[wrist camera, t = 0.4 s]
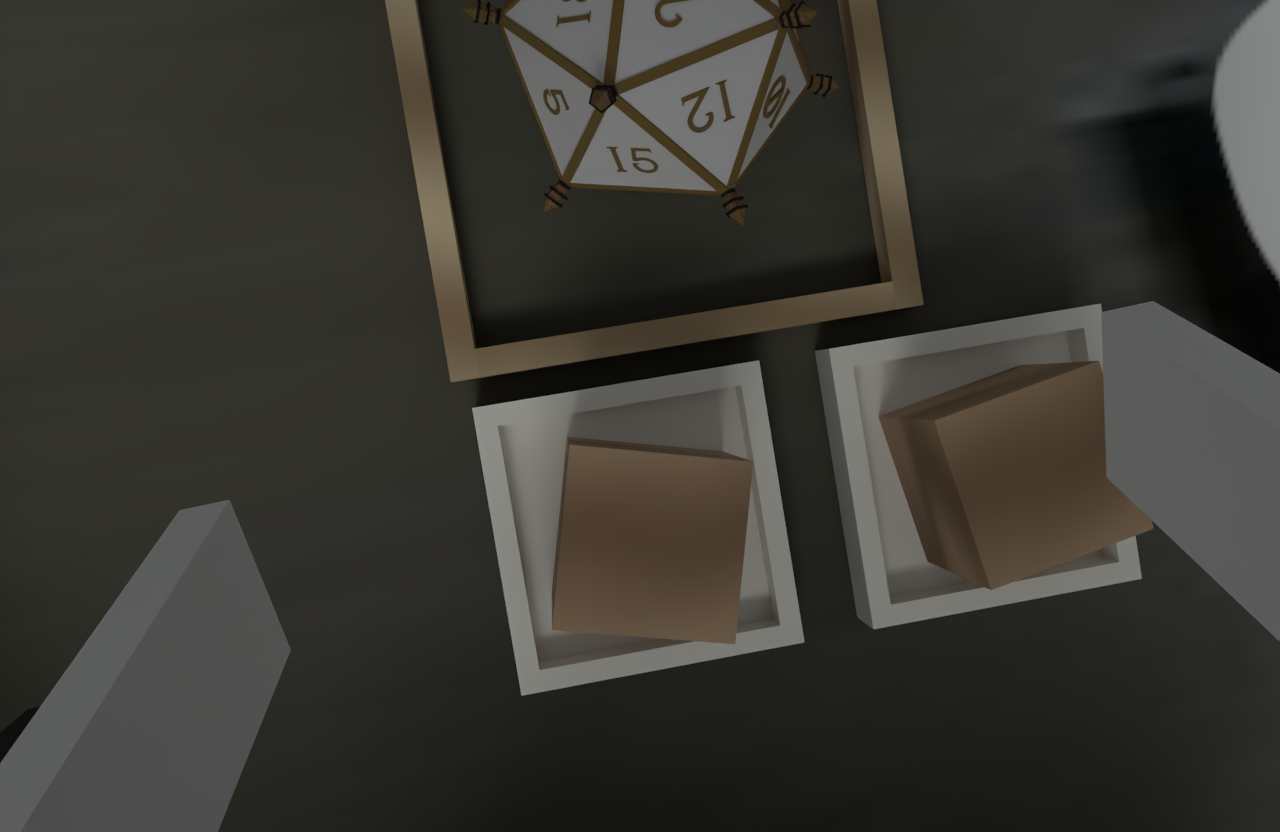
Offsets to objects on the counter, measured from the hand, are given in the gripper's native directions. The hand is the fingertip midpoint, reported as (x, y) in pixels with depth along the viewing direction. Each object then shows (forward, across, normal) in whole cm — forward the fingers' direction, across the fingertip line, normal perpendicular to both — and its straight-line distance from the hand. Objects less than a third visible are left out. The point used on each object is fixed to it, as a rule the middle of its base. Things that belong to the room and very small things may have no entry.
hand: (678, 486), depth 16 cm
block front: (+12, +1, +7) cm, 15 cm away
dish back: (+14, -8, +8) cm, 18 cm away
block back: (+13, -9, +8) cm, 18 cm away
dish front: (+13, +1, +8) cm, 15 cm away
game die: (+18, -1, -3) cm, 18 cm away
